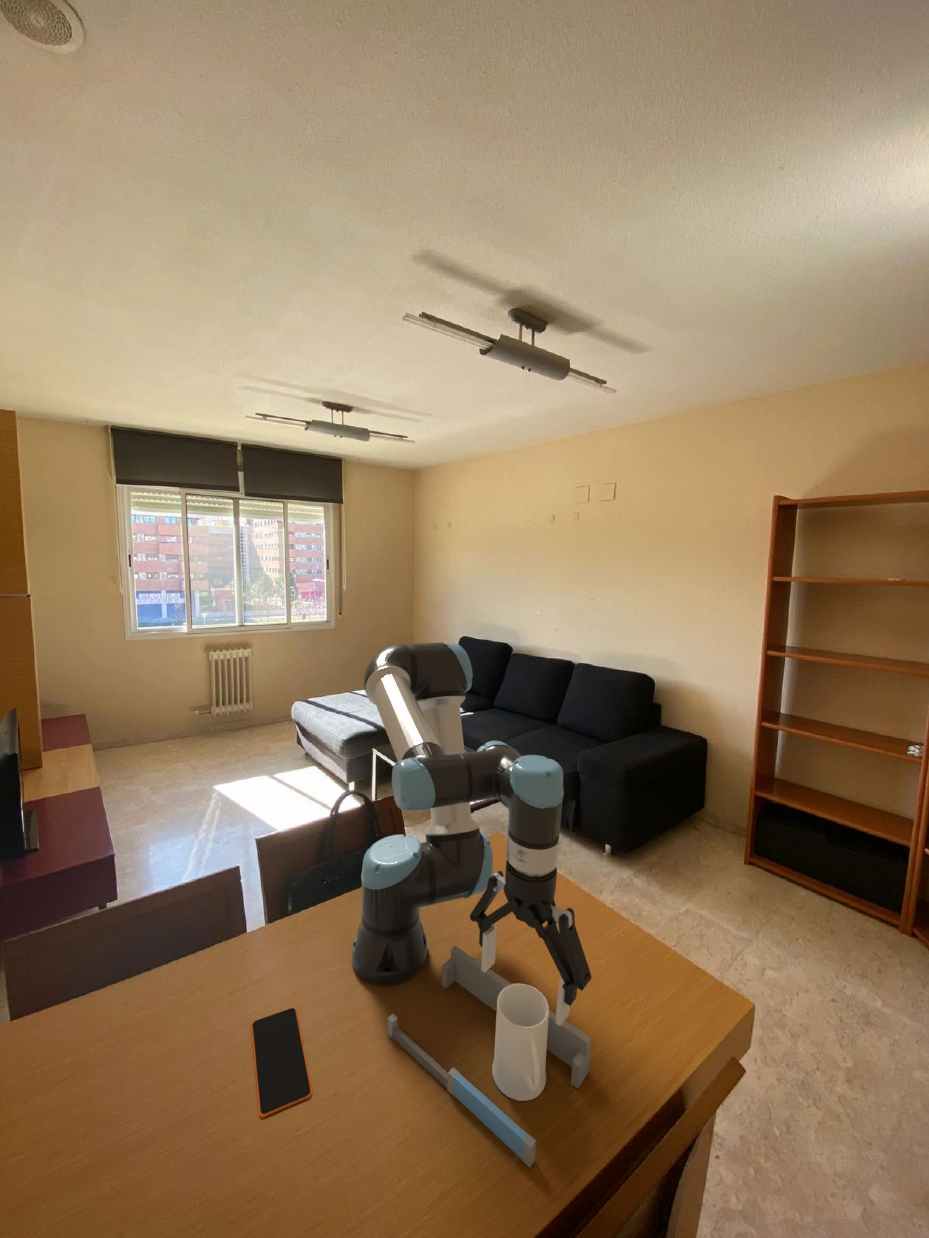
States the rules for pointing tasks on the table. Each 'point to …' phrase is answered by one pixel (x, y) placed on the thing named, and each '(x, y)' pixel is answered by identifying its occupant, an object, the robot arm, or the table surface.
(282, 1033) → the smartphone
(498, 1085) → the mug
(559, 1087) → the table surface
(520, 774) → the robot arm
